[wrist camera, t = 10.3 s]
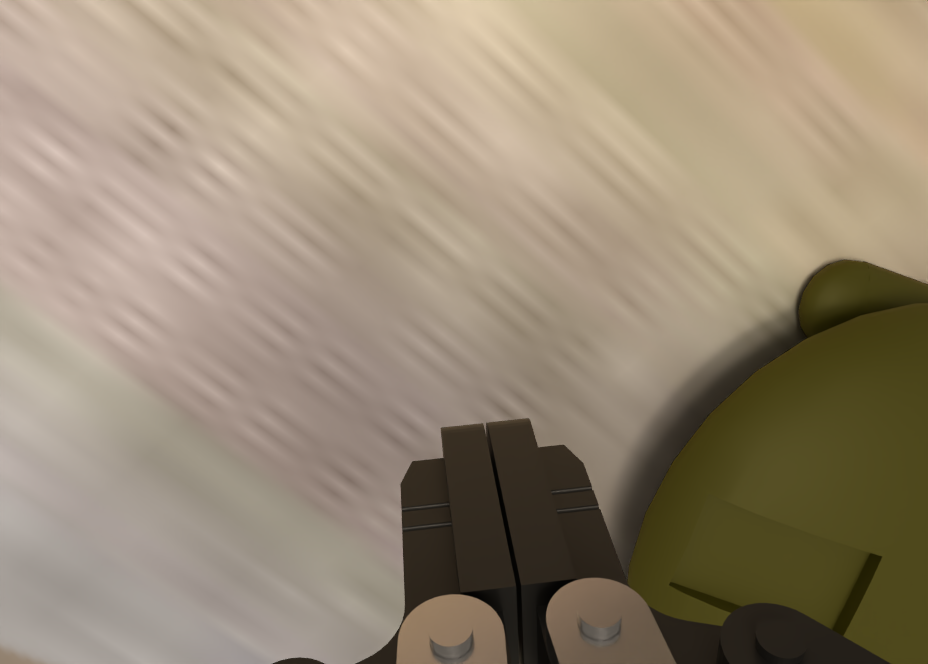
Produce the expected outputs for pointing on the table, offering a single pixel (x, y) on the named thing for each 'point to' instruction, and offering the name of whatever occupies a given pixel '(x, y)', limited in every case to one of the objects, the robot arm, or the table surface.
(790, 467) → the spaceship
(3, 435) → the table surface
